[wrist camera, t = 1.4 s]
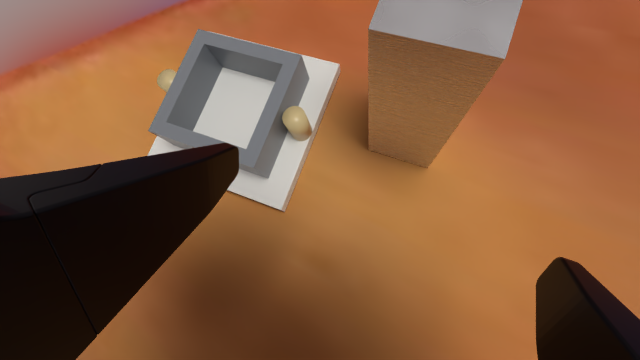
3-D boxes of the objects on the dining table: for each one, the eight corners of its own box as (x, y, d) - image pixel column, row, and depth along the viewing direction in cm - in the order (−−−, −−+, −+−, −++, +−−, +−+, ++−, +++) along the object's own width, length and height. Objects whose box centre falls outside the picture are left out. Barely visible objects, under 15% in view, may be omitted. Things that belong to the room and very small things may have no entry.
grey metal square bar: (427, 168, 22) (504, 58, 10) (368, 150, 23) (368, 28, 10) (445, 113, 23) (539, -56, 10) (387, 98, 24) (408, -74, 11)
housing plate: (284, 211, 23) (267, 203, 19) (154, 162, 26) (116, 146, 22) (340, 71, 25) (335, 38, 21) (213, 38, 27) (188, 4, 24)
